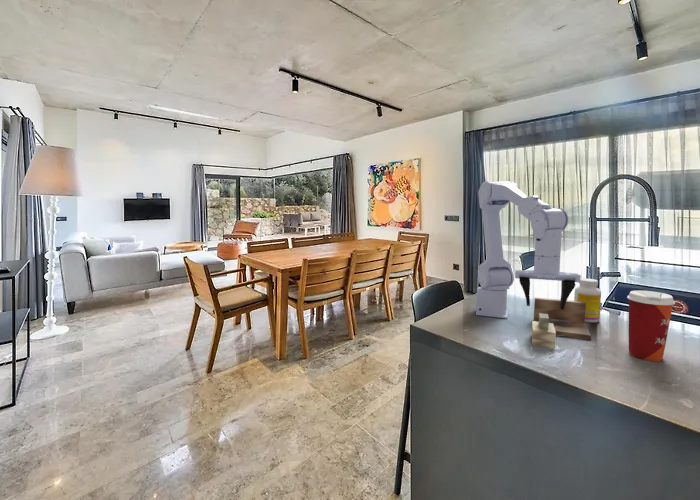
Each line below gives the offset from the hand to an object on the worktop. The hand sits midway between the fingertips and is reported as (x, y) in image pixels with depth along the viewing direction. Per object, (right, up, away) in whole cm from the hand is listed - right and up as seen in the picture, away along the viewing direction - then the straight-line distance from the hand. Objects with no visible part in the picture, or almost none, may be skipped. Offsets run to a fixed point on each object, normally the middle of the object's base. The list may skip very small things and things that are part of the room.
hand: (544, 306), depth 86 cm
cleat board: (+10, -8, +9) cm, 16 cm away
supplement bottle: (+23, -7, +16) cm, 29 cm away
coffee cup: (+19, -10, -8) cm, 23 cm away
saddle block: (0, -9, +1) cm, 10 cm away
